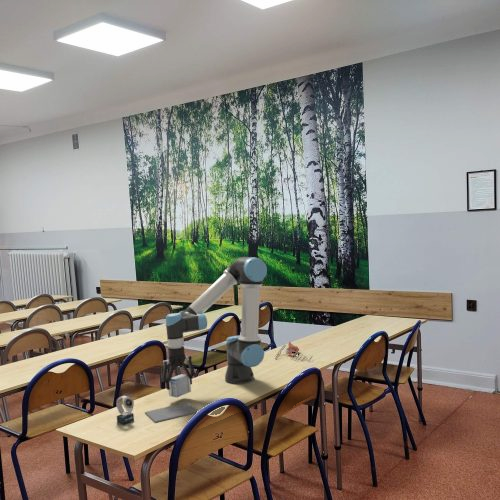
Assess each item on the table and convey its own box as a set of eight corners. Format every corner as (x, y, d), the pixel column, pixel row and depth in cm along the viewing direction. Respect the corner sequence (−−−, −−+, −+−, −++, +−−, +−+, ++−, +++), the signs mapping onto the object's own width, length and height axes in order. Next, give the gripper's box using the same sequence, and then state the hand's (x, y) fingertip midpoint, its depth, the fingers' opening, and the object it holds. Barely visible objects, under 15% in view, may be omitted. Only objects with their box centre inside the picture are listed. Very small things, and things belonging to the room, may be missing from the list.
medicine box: (182, 391, 253) (181, 373, 253) (189, 392, 251) (187, 375, 250) (170, 396, 247) (169, 378, 247) (177, 397, 244) (175, 379, 244)
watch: (127, 425, 220) (125, 399, 219) (114, 422, 224) (112, 397, 224) (137, 421, 224) (135, 395, 224) (124, 418, 229) (122, 393, 228)
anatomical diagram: (284, 340, 329) (319, 342, 314) (288, 352, 332) (323, 354, 317) (268, 360, 314) (304, 363, 299) (273, 372, 317) (308, 376, 302)
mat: (186, 403, 243) (186, 402, 243) (199, 412, 231) (198, 411, 231) (144, 413, 234) (144, 412, 234) (155, 422, 221) (155, 421, 221)
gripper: (194, 341, 256) (197, 386, 257) (151, 349, 246) (155, 396, 247) (200, 343, 250) (204, 390, 251) (156, 352, 239) (160, 400, 240)
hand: (179, 393), depth 249 cm, fingers closed on medicine box, 9 cm apart
